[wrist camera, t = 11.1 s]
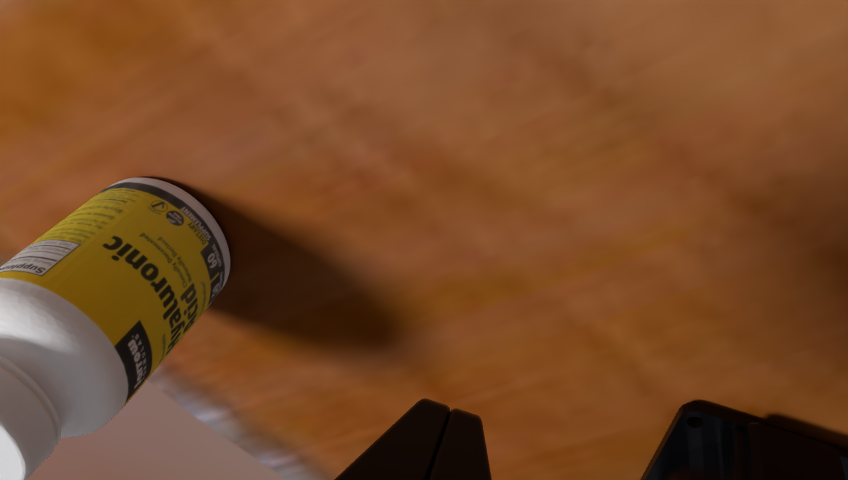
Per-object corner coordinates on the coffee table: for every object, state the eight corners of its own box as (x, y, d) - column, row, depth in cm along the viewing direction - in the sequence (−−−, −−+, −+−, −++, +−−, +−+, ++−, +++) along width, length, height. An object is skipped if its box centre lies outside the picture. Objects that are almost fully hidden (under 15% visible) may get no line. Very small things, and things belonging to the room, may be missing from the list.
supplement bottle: (259, 292, 27) (86, 515, 19) (144, 302, 29) (-55, 508, 21) (196, 160, 24) (-33, 354, 16) (75, 182, 26) (-181, 363, 18)
